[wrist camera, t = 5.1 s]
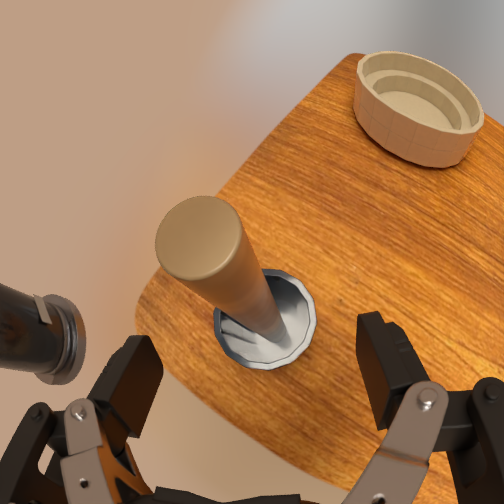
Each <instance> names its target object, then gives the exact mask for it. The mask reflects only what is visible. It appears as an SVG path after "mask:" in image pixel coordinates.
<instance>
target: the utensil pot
mask: <svg viewBox="0 0 504 504" xmlns="http://www.w3.org/2000/svg"><path fill="white" fill-rule="evenodd" d="M262 272H263V274H264V276H265V279H266V281H267V284H268V286H269V288H270V291H271V293H272V295H273V298H274V300H275V303H276V305H277V307H278V310H279V312H280V314H281V317H282V319H283V322H284V324H285V326H286V334H285V336H284V338H283V339H282V340H280V341H278V342H270V341H268V340H267V339H265V338H263V337H262V336H260V335H259V334H257V333H255V332H254V331H252V330H251V329H249V328H248V327H246V326H244V325H243V324H241V323H240V322H238V321H237V320H235V319H234V318H232V317H231V316H229V315H228V314H226V313H225V312H223V311H222V310H220V309H219V308H217V307H215V310H214V313H213V317H214V331H215V336H216V338H217V340H218V342H219V343H220V345H221V347H222V349H223V350H224V352H225V354H226V355H227V356H229V357H230V358H232V359H233V360H235V361H236V362H238V363H239V364H241V365H242V366H244V367H246V368H252V369H260V370H268V371H269V370H273V369H276V368H279V367H282V366H285V365H287V364H290V363H293V362H294V361H296V360H297V359H298V358H299V357H300V356H301V355H302V354H303V353H304V352H305V351H306V350H307V348H308V347H309V345H310V343H311V340H312V337H313V334H314V331H315V328H316V325H317V317H316V310H315V303H314V300H313V297H312V296H311V295H310V293H309V292H308V290H307V289H306V287H305V286H304V285H303V283H302V282H301V281H300V280H298V279H297V278H295V277H293V276H291V275H289V274H288V273H286V272H284V271H282V270H275V269H262Z"/></svg>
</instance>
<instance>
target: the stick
mask: <svg viewBox="0 0 504 504" xmlns="http://www.w3.org/2000/svg"><path fill="white" fill-rule="evenodd" d="M155 250H156V255H157V258H158V261H159V263H160V264H161V266H162V267H163V269H164V270H165V271H166V272H167V273H168V274H170V275H171V276H173V277H174V278H175V279H177V280H178V281H179V282H181V283H182V284H184V285H185V286H187V287H188V288H189V289H191V290H192V291H194V292H195V293H197V294H198V295H199V296H201V297H202V298H204V299H205V300H207V301H208V302H210V303H211V304H213V305H214V306H216V307H217V308H219V309H220V310H222V311H223V312H225V313H226V314H228V315H229V316H231V317H232V318H234V319H235V320H237V321H238V322H240V323H241V324H243V325H244V326H246V327H248V328H249V329H251V330H252V331H254V332H255V333H257V334H259V335H260V336H262V337H263V338H265V339H267V340H268V341H270V342H278V341H280V340H282V339H283V338H284V336H285V334H286V326H285V324H284V322H283V319H282V317H281V314H280V312H279V310H278V307H277V305H276V303H275V300H274V298H273V295H272V293H271V291H270V288H269V286H268V284H267V281H266V279H265V276H264V274H263V272H262V269H261V267H260V265H259V262H258V260H257V257H256V255H255V253H254V250H253V248H252V246H251V243H250V241H249V239H248V236H247V234H246V231H245V229H244V227H243V224H242V222H241V220H240V217H239V215H238V213H237V212H236V210H235V209H234V208H233V207H232V206H231V205H230V204H229V203H227V202H226V201H224V200H221V199H219V198H216V197H212V196H198V197H193V198H190V199H187V200H185V201H183V202H181V203H179V204H178V205H176V206H175V207H174V208H172V209H171V210H170V211H169V212H168V213H167V215H166V216H165V217H164V219H163V220H162V222H161V223H160V225H159V228H158V231H157V234H156V239H155Z"/></svg>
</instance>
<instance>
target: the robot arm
mask: <svg viewBox="0 0 504 504" xmlns="http://www.w3.org/2000/svg"><path fill="white" fill-rule="evenodd" d="M33 295H34V294H33ZM69 349H70V329H69V324H68V321H67V318H66V316H65V314H64V312H63V311H62V310H61V308H60V307H58V306H57V305H55V304H52V303H50V302H44V301H43V298H42V297H39V296H37V295H34V297H32V296H29V295H26V294H24V293H22V292H19V291H17V290H15V289H12V288H10V287H8V286H5V285H3V284H1V283H0V368H6V369H12V370H18V371H26V372H33V373H40V374H45V375H53V374H56V373H58V372H59V371H60V370H61V369H62V368H63V366H64V365H65V363H66V360H67V358H68V354H69ZM356 356H357V361H358V364H359V367H360V370H361V374H362V377H363V380H364V384H365V387H366V390H367V394H368V397H369V401H370V404H371V408H372V411H373V415H374V418H375V422H376V426H377V430H378V431H379V430H383V429H386V428H387V430H388V432H387V434H386V436H385V438H384V440H383V441H382V443H381V445H380V447H379V448H378V449H377V450H376V452H375V453H374V455H373V457H372V458H371V460H370V462H369V463H368V465H367V467H366V468H365V470H364V471H363V473H362V475H361V476H360V478H359V479H358V481H357V482H356V484H355V485H354V487H353V488H352V490H351V491H350V492H349V494H348V495H347V497H346V498H345V500H344V501H343V502H342V504H412V502H413V500H414V498H415V497H416V495H417V493H418V491H419V489H420V487H421V484H422V482H423V480H424V478H425V476H426V473H427V471H428V468H429V463H428V461H429V458H430V455H431V453H432V452H441V451H446V453H447V457H448V460H449V464H450V468H451V472H452V476H453V480H454V485H455V489H456V494H457V499H458V504H504V382H502V381H501V380H499V379H497V378H494V377H486V378H483V379H481V380H479V381H478V382H477V383H476V384H475V386H474V388H473V390H466V391H446V390H445V388H444V387H443V386H441V385H440V384H438V383H436V382H433V381H431V380H430V379H429V377H428V375H427V373H426V371H425V369H424V367H423V365H422V363H421V361H420V359H419V357H418V356H417V354H416V352H415V350H414V349H413V346H412V345H411V343H410V341H409V340H408V337H407V336H406V334H405V332H404V330H403V329H402V328H401V327H399V326H398V325H397V324H395V323H394V322H389V323H385V322H384V320H383V319H382V317H381V315H380V313H379V312H378V311H374V312H369V313H364V314H358V316H357V333H356ZM162 377H163V364H162V361H161V359H160V357H159V355H158V353H157V351H156V349H155V347H154V345H153V343H152V341H151V339H150V337H149V336H147V335H133V336H129V337H128V339H127V340H126V342H125V343H124V345H123V347H121V348H120V349H119V350H117V351H116V352H115V353H114V354H113V355H112V356H111V358H110V359H109V361H108V363H107V366H105V368H104V369H103V373H101V374H100V376H99V378H98V379H97V381H96V383H95V384H94V386H93V388H92V390H91V391H90V393H89V395H88V397H87V398H86V399H84V398H82V399H77V400H75V401H73V402H72V403H70V404H69V405H68V407H67V408H66V410H65V411H52V410H51V408H50V407H49V406H48V405H47V404H46V403H43V402H39V403H36V404H34V405H32V406H31V407H30V408H29V409H28V411H27V412H26V414H25V416H24V417H23V419H22V421H21V423H20V424H19V426H18V428H17V430H16V432H15V434H14V435H13V437H12V439H11V441H10V443H9V445H8V447H7V449H6V451H5V453H4V455H3V457H2V459H1V461H0V504H319V503H315V502H310V501H304V500H301V498H300V494H292V495H274V496H258V497H254V498H250V499H244V500H238V501H232V502H226V503H221V502H217V501H214V500H211V499H208V498H205V497H202V496H199V495H196V494H193V493H191V492H188V491H181V490H175V489H169V488H163V487H158V486H157V487H156V490H155V493H153V492H152V491H151V490H150V488H149V487H148V486H147V485H146V483H145V482H144V480H143V478H142V476H141V474H140V472H139V469H138V467H137V465H136V462H135V460H134V457H133V455H132V452H131V450H130V447H129V445H128V443H127V442H126V440H127V438H128V437H133V438H139V437H140V435H141V432H142V429H143V426H144V424H145V421H146V418H147V416H148V413H149V411H150V408H151V405H152V403H153V400H154V398H155V395H156V392H157V389H158V387H159V385H160V382H161V379H162ZM46 444H47V445H48V446H49V447H50V448H52V450H54V454H53V456H52V458H51V460H50V463H49V465H48V467H47V470H46V472H45V475H43V474H42V473H41V472H40V471H39V469H38V461H39V459H40V457H41V454H42V452H43V450H44V448H45V446H46Z"/></svg>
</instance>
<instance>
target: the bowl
mask: <svg viewBox="0 0 504 504" xmlns="http://www.w3.org/2000/svg"><path fill="white" fill-rule="evenodd" d="M353 109H354V112H355V115H356V118H357V121H358V122H359V124H360V125H361V126H362V127H363V129H364V130H365V131H366V133H367V134H368V135H369V136H370V137H371V138H372V139H374V140H375V141H376V142H377V143H379V144H380V145H381V146H382V147H383V148H385V149H386V150H388V151H390V152H392V153H394V154H396V155H397V156H399V157H401V158H403V159H405V160H407V161H410V162H413V163H416V164H419V165H422V166H426V167H439V168H445V167H449V166H452V165H456V164H458V163H459V162H460V161H461V160H462V159H463V158H464V157H465V156H466V155H467V153H468V151H469V150H470V148H471V146H472V144H473V143H474V141H475V139H476V137H477V136H478V134H479V132H480V130H481V128H482V126H483V122H484V112H483V110H482V107H481V104H480V102H479V100H478V99H477V98H476V96H475V95H474V93H473V92H472V91H471V89H470V88H469V87H468V86H467V85H465V84H464V83H463V82H462V81H461V80H460V79H459V78H458V77H457V76H455V75H454V74H452V73H451V72H449V71H448V70H446V69H445V68H443V67H441V66H439V65H437V64H435V63H433V62H431V61H429V60H427V59H424V58H421V57H418V56H415V55H412V54H408V53H402V52H395V51H385V52H375V53H372V54H369V55H366V56H365V57H364V58H362V59H361V60H360V61H359V62H358V67H357V74H356V85H355V95H354V104H353Z"/></svg>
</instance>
